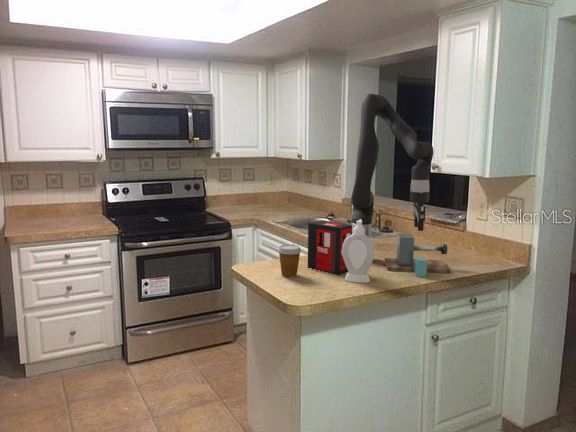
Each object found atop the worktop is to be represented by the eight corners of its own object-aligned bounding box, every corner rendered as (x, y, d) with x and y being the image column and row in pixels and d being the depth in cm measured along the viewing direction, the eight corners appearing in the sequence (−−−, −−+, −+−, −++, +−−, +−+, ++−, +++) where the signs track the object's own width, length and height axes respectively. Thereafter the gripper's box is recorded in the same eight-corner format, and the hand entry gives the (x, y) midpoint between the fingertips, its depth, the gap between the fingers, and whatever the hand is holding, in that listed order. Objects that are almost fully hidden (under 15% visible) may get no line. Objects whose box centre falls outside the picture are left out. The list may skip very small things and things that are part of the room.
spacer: (416, 276, 197) (417, 260, 196) (414, 273, 203) (415, 257, 202) (426, 277, 197) (427, 260, 196) (423, 273, 202) (424, 257, 201)
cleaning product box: (307, 268, 209) (308, 223, 206) (319, 264, 216) (320, 220, 213) (339, 275, 199) (340, 228, 195) (350, 270, 205) (352, 225, 202)
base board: (387, 270, 206) (387, 267, 206) (384, 261, 222) (384, 257, 222) (449, 273, 203) (449, 269, 203) (442, 263, 219) (442, 260, 219)
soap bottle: (374, 278, 194) (377, 219, 190) (372, 284, 187) (375, 223, 183) (343, 276, 198) (344, 217, 194) (340, 281, 190) (341, 221, 186)
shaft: (410, 253, 210) (410, 244, 209) (408, 251, 214) (409, 242, 213) (446, 255, 208) (447, 245, 207) (444, 252, 212) (445, 243, 211)
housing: (398, 265, 208) (400, 237, 206) (396, 260, 218) (397, 233, 216) (412, 266, 208) (414, 238, 206) (409, 260, 217) (411, 233, 215)
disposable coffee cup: (281, 279, 193) (281, 250, 191) (275, 272, 202) (275, 244, 200) (303, 277, 195) (304, 248, 193) (296, 271, 204) (297, 243, 202)
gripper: (407, 188, 206) (406, 225, 208) (413, 192, 192) (412, 232, 194) (425, 188, 205) (424, 226, 208) (432, 192, 191) (431, 232, 194)
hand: (418, 228), depth 201 cm, fingers open, 8 cm apart
